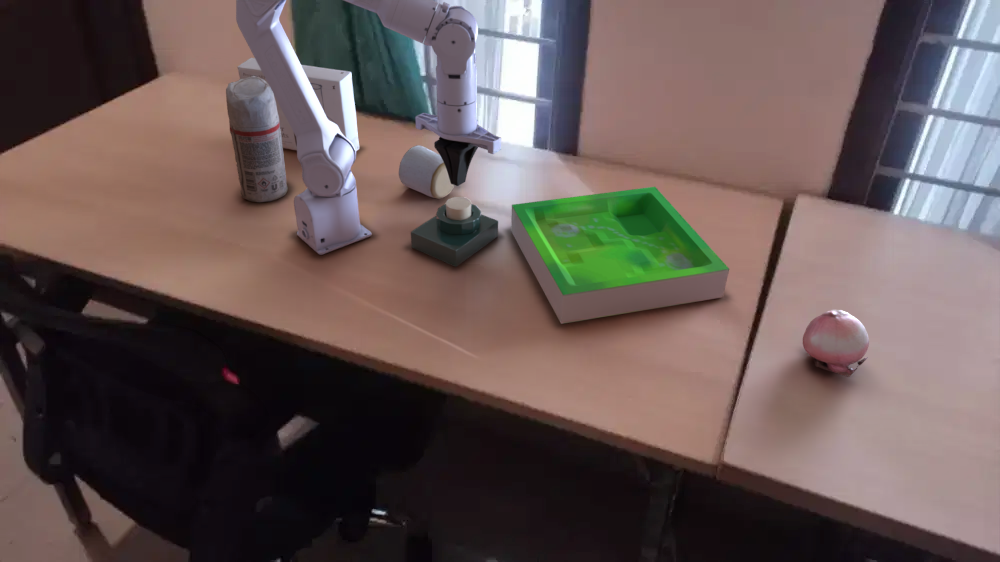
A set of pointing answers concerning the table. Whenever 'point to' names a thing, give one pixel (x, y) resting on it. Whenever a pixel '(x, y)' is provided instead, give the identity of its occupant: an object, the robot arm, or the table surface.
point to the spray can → (256, 139)
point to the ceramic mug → (425, 172)
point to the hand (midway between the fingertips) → (458, 182)
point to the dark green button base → (454, 236)
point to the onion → (836, 341)
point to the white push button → (458, 208)
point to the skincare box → (331, 95)
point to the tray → (615, 254)
